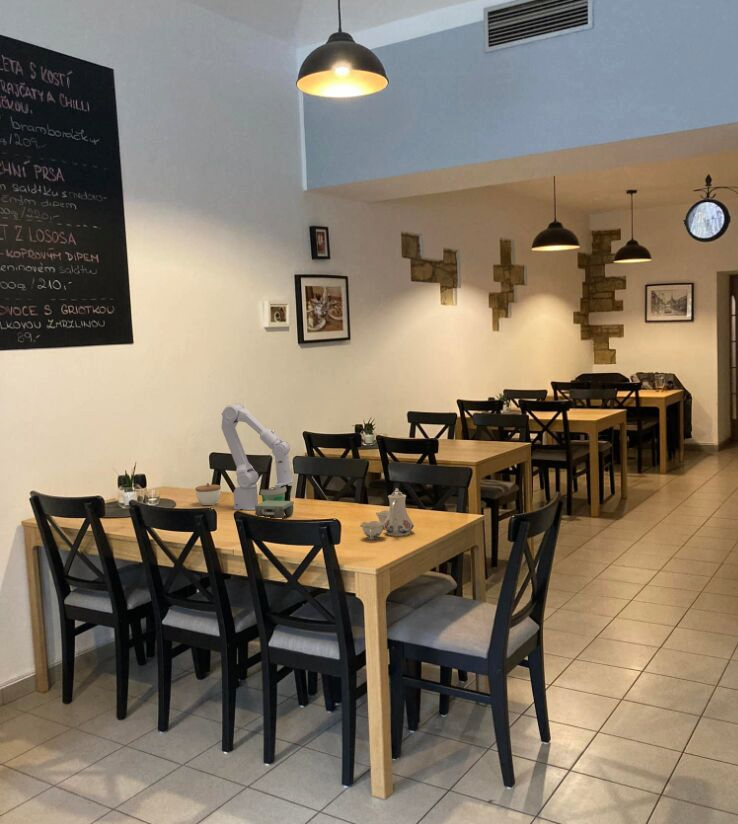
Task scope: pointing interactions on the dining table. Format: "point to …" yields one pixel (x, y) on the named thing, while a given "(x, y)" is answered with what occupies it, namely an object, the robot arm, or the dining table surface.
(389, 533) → the chinaware
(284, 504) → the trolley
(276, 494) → the food container
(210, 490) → the lidded jar
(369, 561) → the dining table surface
